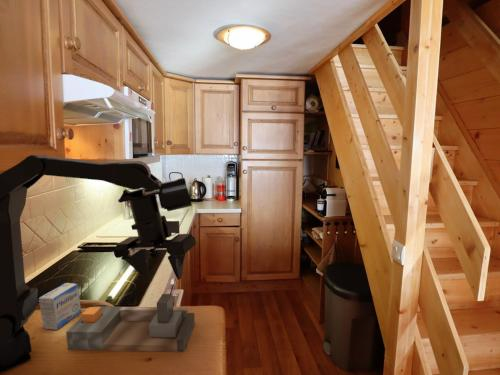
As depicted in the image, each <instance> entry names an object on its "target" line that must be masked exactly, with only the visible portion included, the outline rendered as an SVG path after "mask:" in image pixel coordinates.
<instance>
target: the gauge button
mask: <svg viewBox="0 0 500 375" xmlns="http://www.w3.org/2000/svg"><path fill="white" fill-rule="evenodd" d="M101 307H102V306H99V307H91V306H89V307H88V308H87V309H85V311H84V312H82V313H81V317H82V320H83V323H96V322H97V321H98V320H99V319H100V317H101V316H102V314H101Z"/></svg>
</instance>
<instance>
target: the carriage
mask: <svg viewBox="0 0 500 375" xmlns="http://www.w3.org/2000/svg"><path fill="white" fill-rule="evenodd" d="M173 299H174V298H173V293H162V294H161V296H160V297H159V299H158V300H157V302H156V307H157V313H156V315H155V316H154V318H153V319H152V321H151V323H150V324H149V333H150V337H176V335H177V333H178V331H179V329H180V326H181V324H182V311H173V308H174V300H173Z"/></svg>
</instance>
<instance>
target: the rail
mask: <svg viewBox="0 0 500 375" xmlns="http://www.w3.org/2000/svg"><path fill="white" fill-rule="evenodd" d="M92 307H101V314H102V316H101V317H100V319H99V320H98V321H97V322H96V323H83V320H82V316H81V317H80V318H79V319H78V320H77V321H76V322H74V323H73V324H72V326H71V327H69V329H67V330H66V331H65V334H66V335H65V336H66V341H67V350H68V351H119V352H120V351H121V352H124V351H125V352H126V351H128V352H129V351H130V352H131V351H132V352H177V353H178V352H179V353H180V352H185V350H186V347H187V345H188V342H189V339H190V338H191V334H192V332H193V329H194V326H195V324H196V322H195V321H196V320H195V312H189V309H188V307H173V311H182V324H181V326H180V329H179V331H178V333H177V335H176V337H150V333H149V324H150V323H151V321H152V319H153V318H154V316H155V315H156V313H157V306H155V307H151V306H150V307H148V306H146V307H145V306H140V307H138V306H132V307H131V306H129V307H128V306H100V305H99V306H94V305H93V306H92Z"/></svg>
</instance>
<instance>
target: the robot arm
mask: <svg viewBox="0 0 500 375" xmlns="http://www.w3.org/2000/svg"><path fill="white" fill-rule="evenodd" d="M44 176H50V177H51V176H52V177H59V178H60V177H61V178H62V177H63V178H73V179H83V180H94V181H102V182H107V183H109V184H112V185H115V186H119V187H121V188H125V189H124V190H123V191H122V194H121V196H120V198H119V199H118V200H117V201H118V203H125V202H128V203H129V207H130V210H131V214H132V217H133V222H134V223H133V224H132V225H130V226H131V230H133V231H136V232H137V235H138V236H137V235H136V236H129V237H127V238H125V239H124V240H122V241H120V242H118V243H116V245H115V248H114V252H115V256H116V257H117V258H121V260H122V261H125V262H126V263H127V264H129V265H130V266H131V267H132V268H133V269H134V270H135V271H136V272H138V273H139V275H140V276H142V278H143V279H145V280H148V279H149V278H150V270H149V267H148V262H147V259H146V254H147V250H164V249H165V250H166V253H167V254H168V256H167V260H168V261H169V264H170V266H171V269H172V271H173V272H174V275H175V277H176V279H177V280H178V281H179V280H180V281H181V279H182V277H183V271H184V261H185V257H186V254H187V253H188V252H189V251H190V250H192V248H194V247H195V246H196V245H197V242H196V238H195V236H194V235H193V233H180V221H179V220H167V217H166V216H165V215H162V214H161V212H160V208H159V206H160V207H161V209H164V210H167V212H171V211H176V210H180V209H184V208H185V209H186V208H189V207H193V204H192V199H191V194H190V192H189V189H188V186H187V182H186V181H187V180H186V178H185V177H181V178H177V179H174V180H170V181H166V182H165V181H164V182H162V181H161V180H160V178H157V177H156V176H155V175H154V174H153V173H152V170H151V168H150V167H149V165H148V164H146V162H144V161H141V160H131V161H130V160H129V161H115V162H114V161H113V162H112V161H111V162H104V161H95V160H94V161H93V160H86V159H85V160H84V159H78V158H77V159H76V158H65V157H58V156H57V157H56V156H49V155H46V154H31V155H28V156H26V157H25V158H24V159H23V160H21V161H20V162H19V163H17V164H15V165H13V166H12V167H10V168H8V169H7V170H4V171H3V172H1V173H0V374H3V373H5V372H6V371H9V370H11V369H14V368H15V367H18V366H20V365H22V364H25V363H26V362H28V361H29V362H30V360H32V357H31V354H30V353H31V352H32V344H31V338H30V334H29V331H28V330H26V329H25V328H24V325H25V324H27V322H28V321H29V319H30V318H31V316H32V315H33V314H34V313H35V311H36V310H37V307H38V306H39V305H40V302H39V298H38V291H39V289H38V288H39V287H32V288H31V287H29V286H28V285H27V282H26V277H25V266H24V254H23V243H22V231H21V230H22V229H21V217H22V215H23V212H24V210H25V206H26V203H27V202H26V201H27V196H28V195H27V194H28V190H29V189H30V188H31V187H33V186H34V185H35V184H36V183H38V182H39V180H41V179H42V177H44ZM130 190H134V191H130ZM146 191H147V192H146ZM157 196H158V200H159V203H158V200H157ZM159 204H160V205H159ZM173 234H177V235H175V236H174V237H172V236H173ZM170 237H172V238H171V239H167V238H170ZM2 372H3V373H2Z"/></svg>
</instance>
